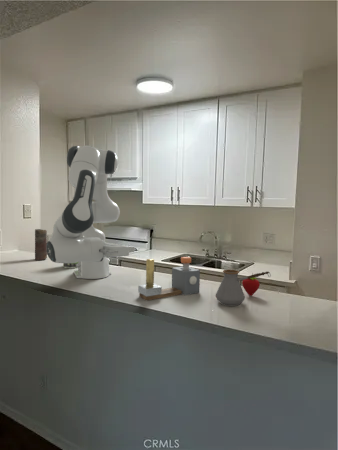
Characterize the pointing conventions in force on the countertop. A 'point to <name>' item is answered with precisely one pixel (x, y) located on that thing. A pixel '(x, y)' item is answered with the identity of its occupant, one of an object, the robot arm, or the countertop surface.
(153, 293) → the carriage
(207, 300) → the countertop surface
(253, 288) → the strawberry
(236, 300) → the coffee pot
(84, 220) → the robot arm
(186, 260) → the button
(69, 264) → the coffee can
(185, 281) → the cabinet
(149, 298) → the rail
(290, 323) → the countertop surface
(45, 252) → the candle
